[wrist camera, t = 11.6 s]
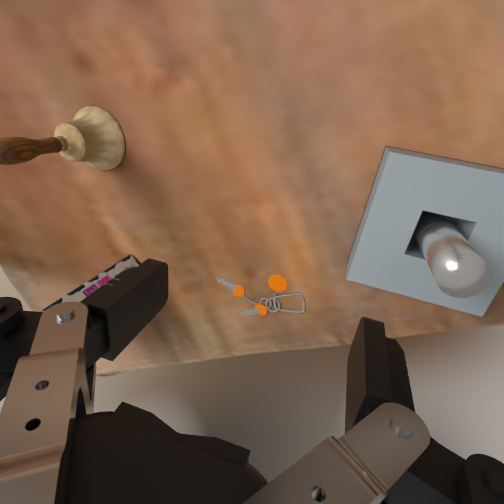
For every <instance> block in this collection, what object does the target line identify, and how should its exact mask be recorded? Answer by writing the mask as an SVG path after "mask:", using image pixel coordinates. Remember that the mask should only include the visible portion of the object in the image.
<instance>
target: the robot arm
mask: <svg viewBox="0 0 504 504" xmlns="http://www.w3.org/2000/svg"><path fill="white" fill-rule="evenodd" d="M167 298H168V265H167V263H165V262H161V261H157V260H153V259H147V260H146V261H144V262H143V263H142V264H140V265H139V266H138V267H132V268H129V269H126V270H124V271H122V272H120V273H119V274H118V275H116V276H115V277H114V278H113V279H111V280H109V281H108V282H107V283H106V284H104V285H102V286H101V287H100V288H98V289H97V290H96V291H94V292H93V293H91V294H90V295H89V296H87V297H86V298H85V299H83V300H82V301H80V302H63V303H59V304H56V305H53V306H51V307H50V308H48V309H47V310H45V311H44V312H33V311H23V308H22V304H21V302H20V300H18V299H16V298H12V297H0V401H1V400H2V399H3V398H4V397H6V398H5V401H4V404H3V407H2V410H1V413H0V504H504V464H503V463H502V462H500V461H498V460H496V459H495V458H492V457H490V456H487V455H483V454H473V455H471V456H469V457H468V458H467V460H465V459H463V458H462V457H460V456H458V455H457V454H455V453H453V452H452V451H450V450H448V449H447V448H445V447H444V446H442V445H441V444H439V443H438V442H436V441H435V440H434V439H433V438H431V436H430V434H429V431H428V428H427V426H426V425H425V423H424V422H423V420H422V419H421V418H420V417H419V416H418V415H417V414H416V413H415V409H414V403H413V398H412V392H411V387H410V382H409V376H408V371H407V366H406V361H405V355H404V351H403V350H402V348H401V347H400V345H399V344H398V342H397V341H396V340H394V339H391V338H387V337H386V336H385V328H384V323H383V322H381V321H377V320H374V319H370V318H366V317H362V318H361V320H360V322H359V325H358V328H357V331H356V334H355V337H354V339H353V342H352V345H351V348H350V352H349V356H348V364H347V390H346V417H345V434H344V435H343V436H341V437H340V438H339V439H336V438H335V437H334V436H331V437H328V438H327V439H325V440H324V441H322V442H321V443H320V444H318V445H317V446H316V447H315V448H313V449H312V450H311V451H309V452H308V453H307V454H305V455H304V456H303V457H301V458H300V459H299V460H298V461H296V462H295V463H294V464H292V465H291V466H290V467H289V468H287V469H286V470H285V471H283V472H282V473H281V474H280V475H278V476H277V477H276V478H274V479H273V480H272V481H270V482H269V483H268V482H267V480H266V479H265V478H264V477H263V476H262V474H261V473H260V472H259V471H258V470H257V469H256V468H254V467H253V466H252V465H251V464H249V463H248V460H249V455H250V450H248V449H245V448H243V447H240V446H237V445H234V444H232V443H230V442H227V441H224V440H222V439H219V438H215V437H206V436H197V435H187V434H180V433H178V432H176V431H174V430H173V429H172V428H171V427H169V426H168V425H167V424H165V423H164V422H163V421H162V420H160V419H159V418H158V417H156V416H155V415H154V414H152V413H151V412H148V411H146V410H143V409H140V408H138V407H135V406H133V405H130V404H127V403H125V402H122V403H121V404H120V405H119V406H118V408H117V409H116V410H115V412H112V411H109V412H97V413H94V412H93V411H94V410H93V409H94V393H95V380H96V361H97V360H98V359H99V358H100V357H102V358H105V359H108V360H110V361H113V360H114V359H115V358H116V357H117V356H118V355H119V354H120V353H121V352H122V351H123V349H124V348H125V347H126V346H127V345H128V344H129V343H130V342H131V341H132V340H133V339H134V338H135V337H136V336H137V335H138V333H139V332H140V331H141V330H142V329H143V328H144V327H145V326H146V325H147V324H148V323H149V322H150V321H151V320H152V319H153V318H154V316H155V315H156V314H157V313H158V312H159V311H160V310H161V309H162V308H163V307H164V305H165V303H166V301H167Z"/></svg>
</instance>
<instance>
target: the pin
mask: <svg viewBox="0 0 504 504" xmlns="http://www.w3.org/2000/svg"><path fill="white" fill-rule="evenodd" d="M413 234H414V236H415V238H416V240H417V242H418V245H419V247H420V249H421V251H422V253H423V255H424V257H425V259H426V262H427V264H428V266H429V268H430V270H431V272H432V274H433V276H434V278H435V281H436V283H437V285H438V287H439V288H440V290H441V291H442V292H444V293H445V294H447V295H449V296H452V297H456V298H468V297H472V296H475V295H477V294H479V293H481V292H482V291H483V290H485V289H486V288H487V286H488V285H489V283H490V281H491V277H492V273H491V269H490V267H489V266H488V264H487V263H486V262H485V261H484V260H483V258H482V257H481V256H480V255H479V254H478V253H477V251H476V250H475V249H474V248H473V247H472V246H471V244H470V243H469V242H468V241H467V240H466V239H465V237H464V236H463V235H462V234H461V233H460V232H459V230H458V229H457V228H456V227H455V226H454V225H453V223H452V222H451V221H450V220H449V219H448V218H447V216H445V215H441V214H436V213H432V212H428V211H424V212H422V213H421V215H420V218H419V220H418V223H417V225H416V227H415V230H414V232H413Z"/></svg>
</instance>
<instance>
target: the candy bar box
mask: <svg viewBox="0 0 504 504" xmlns="http://www.w3.org/2000/svg"><path fill="white" fill-rule="evenodd" d="M139 265H140V263H139V262H138V261H137V260H136V259H135V258H134V257H133V256H132V255H131V254H130V255H128V256H127V257H125V258H124V259H122V260H121V261H119V262H118V263H116V264H114V265H113V266H111V267H110V268H108V269H107V270H105V271H103V272H102V273H100V274H99V275H97V276H96V277H94V278H92V279H91V280H89V281H87V282H86V283H84V284H83V285H81V286H80V287H78V288H76V289H75V290H73V291H71V292H70V293H68V294H67V295H65V296H64V297H62V298H60V299H59V300H57V301H56V302H54V303H52V304H51V305H49V306H48V307H46V308H45V309H43V310H41V311H40V312H44V311H45V310H47V309H48V308H50V307H51V306H53V305H56V304H59V303H63V302H80V301H82V300H83V299H85V298H86V297H87V296H89V295H90V294H91V293H93V292H94V291H96V290H97V289H98V288H100V287H101V286H102V285H104V284H106V283H107V282H108V281H109V280H111V279H113V278H114V277H115V276H116V275H118V274H119V273H120V272H122V271H124V270H126V269H129V268H132V267H138V266H139Z"/></svg>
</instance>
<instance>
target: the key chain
mask: <svg viewBox="0 0 504 504" xmlns="http://www.w3.org/2000/svg"><path fill="white" fill-rule="evenodd" d="M217 282H219V283H221V284H223V285H225V286H226V287H228V288H230V289H231V290H232V292H233V294H234V295H235V296H238V297H240V296H244V298H245V299H246V300H247V301H249V302H250V303H252V304H255V307H254V309H251V310H247V311H243V312H240V313H241V315H242V316H246V315H248V316H249V315H250V316H252V315H253V314H254V315H255V314H256V315H257V314H259V315H260V316H264V315H266V313H267V311H268V310H269V311H270V312H273V313H274V312H277V311H283V312H291V313H303V312H304V311H305V300H304V297H303V295H302V294H301V293H294V294H287V295H280V296H278V295H277V296H275V295H276V294H277V293H280V292H282V291H284V290H285V289H286V288H287V281H286V280H285V278H284V277H282V276H280V275H273V276H271V277H270V278H269V281H268V284H269V286H270V288H271V289H272V290H274V291H277V292H276V293H275V294H274V297H273V298H269V299H268V298H261V299H260V303H258V304H257V303H254V302H251V300H249V299H248V298H247V297H246V296H245V294H244V292H245V290H244V288H243V287H242V286H241V285H239V284H237V285H234V284H233V283H231V284H230V282H228V280H227V282H226V281H225V279H224V280H223V279H221V277H220V278H219V277H218V278H217ZM291 295H299V296H300V297H301V299H302V303H303V309H302V310H300V311H296V310H286V309H280V307H281V306H280V302H279V300H277V299H279V298H280V297H284V296H291ZM276 298H277V299H276ZM263 299H266V303H265V305H266V306H265V305H263V304H262V300H263ZM271 300H273V303H274V308H275V310H271V309H269V308H270V307H271V306H272V302H271ZM268 302H270V306H268ZM276 302H277V303H278V308H277V306H276Z"/></svg>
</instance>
